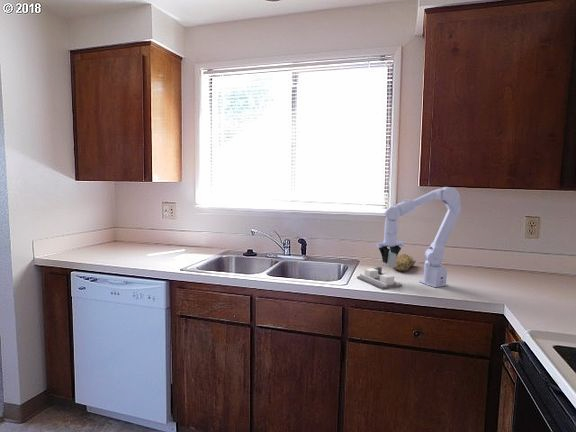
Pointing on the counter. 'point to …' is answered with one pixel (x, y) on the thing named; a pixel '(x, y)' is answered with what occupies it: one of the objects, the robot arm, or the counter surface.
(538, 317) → the counter surface
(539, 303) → the counter surface
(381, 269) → the knob
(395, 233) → the robot arm
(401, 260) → the sponge
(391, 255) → the module
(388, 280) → the rail board
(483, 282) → the counter surface
